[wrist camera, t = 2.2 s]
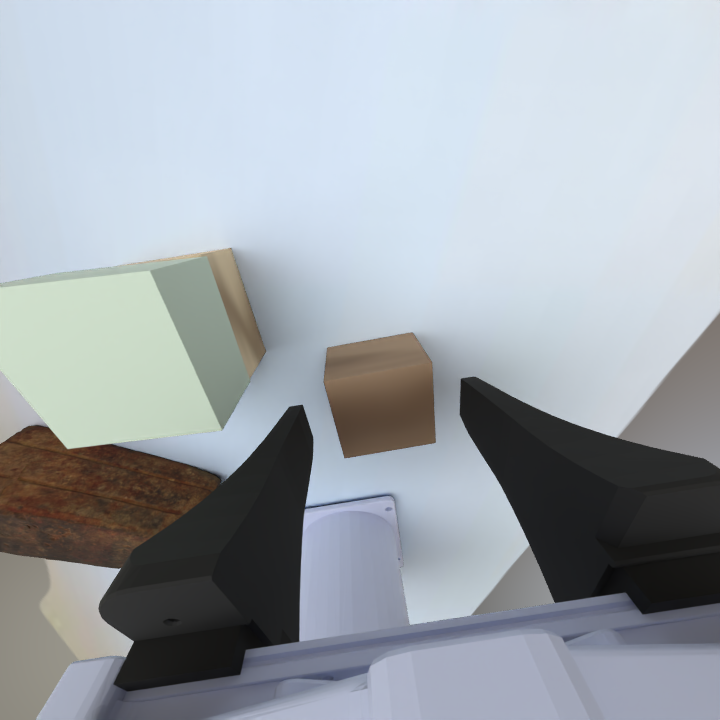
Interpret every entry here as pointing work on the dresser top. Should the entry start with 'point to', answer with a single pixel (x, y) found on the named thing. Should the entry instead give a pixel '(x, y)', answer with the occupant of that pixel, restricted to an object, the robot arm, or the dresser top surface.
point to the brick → (89, 498)
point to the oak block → (233, 304)
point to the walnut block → (381, 394)
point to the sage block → (123, 351)
